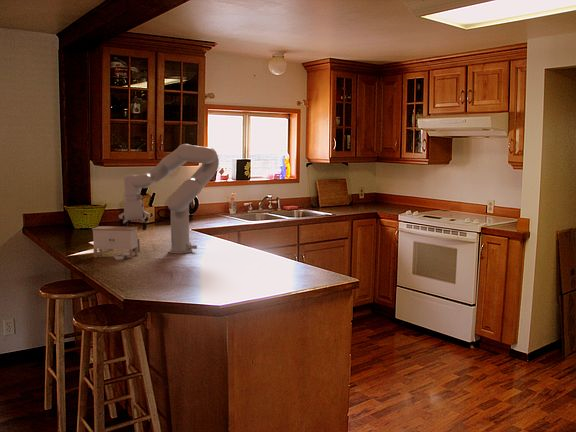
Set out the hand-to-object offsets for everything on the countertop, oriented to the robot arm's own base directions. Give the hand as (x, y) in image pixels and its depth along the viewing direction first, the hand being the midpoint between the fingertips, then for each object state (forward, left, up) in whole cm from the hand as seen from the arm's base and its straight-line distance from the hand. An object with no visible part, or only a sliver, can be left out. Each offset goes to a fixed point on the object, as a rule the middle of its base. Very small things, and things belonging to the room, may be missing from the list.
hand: (135, 230), depth 304 cm
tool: (+1, +7, -12) cm, 14 cm away
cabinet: (+6, +12, -12) cm, 18 cm away
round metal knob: (+1, +20, -12) cm, 24 cm away
